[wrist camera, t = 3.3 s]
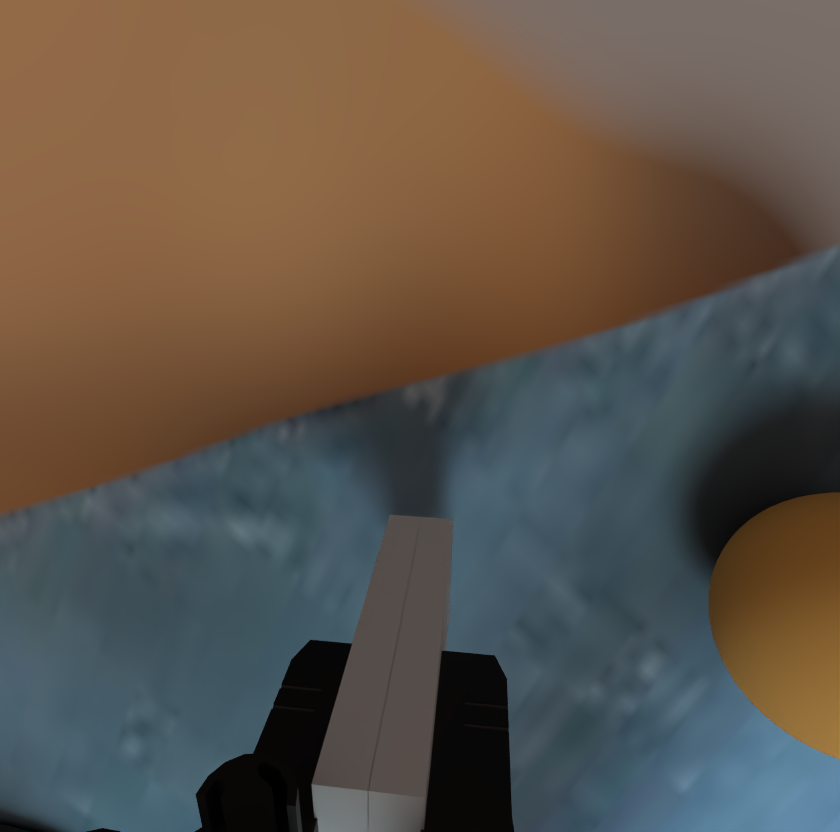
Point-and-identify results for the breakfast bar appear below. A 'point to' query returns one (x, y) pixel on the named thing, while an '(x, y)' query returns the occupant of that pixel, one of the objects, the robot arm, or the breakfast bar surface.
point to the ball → (785, 616)
